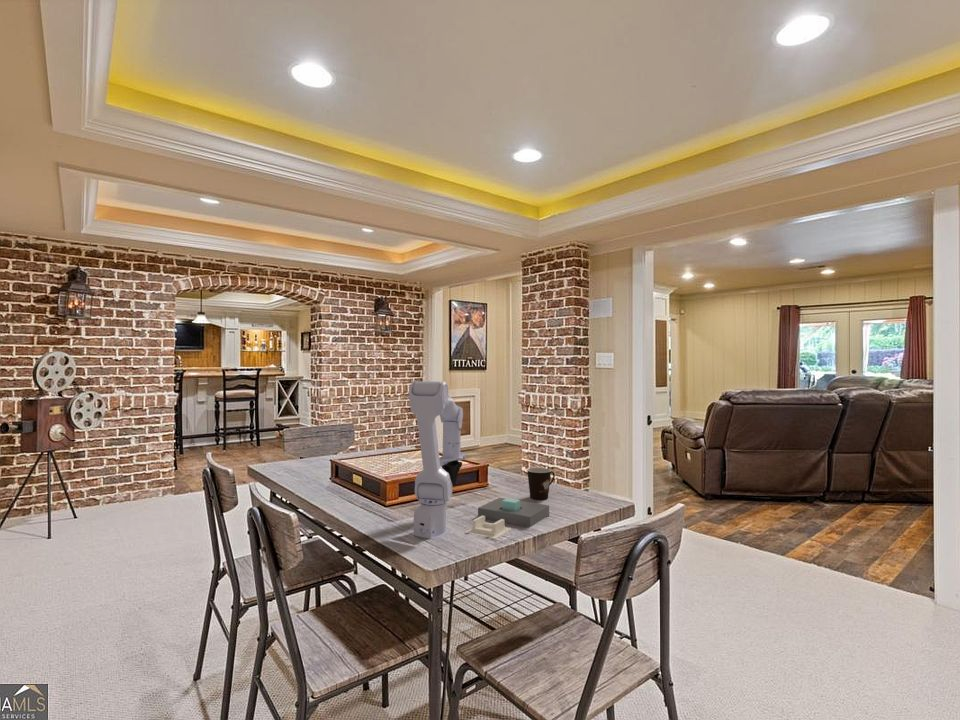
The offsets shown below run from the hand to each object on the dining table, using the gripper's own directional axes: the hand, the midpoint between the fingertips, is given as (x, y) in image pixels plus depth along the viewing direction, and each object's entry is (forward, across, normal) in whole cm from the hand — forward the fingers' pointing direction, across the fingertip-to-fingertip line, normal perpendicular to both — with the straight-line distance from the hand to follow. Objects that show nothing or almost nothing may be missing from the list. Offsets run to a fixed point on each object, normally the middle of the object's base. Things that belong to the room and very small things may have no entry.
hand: (451, 484), depth 167 cm
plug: (+10, +5, -19) cm, 22 cm away
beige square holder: (+9, -9, -19) cm, 23 cm away
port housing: (+9, +7, -19) cm, 22 cm away
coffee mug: (+10, +34, -17) cm, 39 cm away
